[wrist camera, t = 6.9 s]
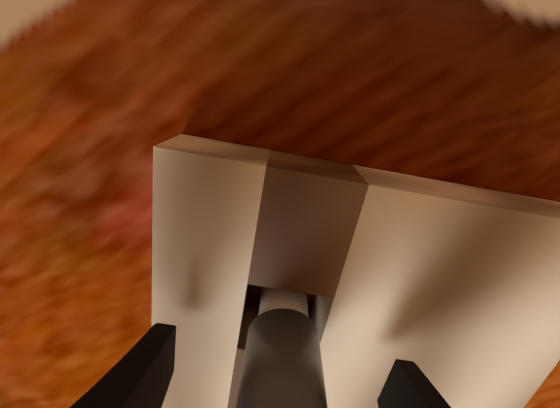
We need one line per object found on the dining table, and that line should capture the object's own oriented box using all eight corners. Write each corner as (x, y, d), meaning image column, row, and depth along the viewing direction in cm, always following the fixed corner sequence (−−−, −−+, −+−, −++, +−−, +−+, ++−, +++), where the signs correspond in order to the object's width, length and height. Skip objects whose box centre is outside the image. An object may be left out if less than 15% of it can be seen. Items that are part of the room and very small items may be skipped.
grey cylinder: (317, 265, 13) (346, 444, 6) (306, 310, 14) (322, 505, 7) (259, 256, 13) (231, 429, 6) (252, 302, 14) (222, 493, 7)
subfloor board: (580, 205, 12) (653, 235, 9) (459, 401, 16) (488, 454, 14) (181, 133, 11) (152, 146, 9) (171, 359, 15) (150, 407, 13)
